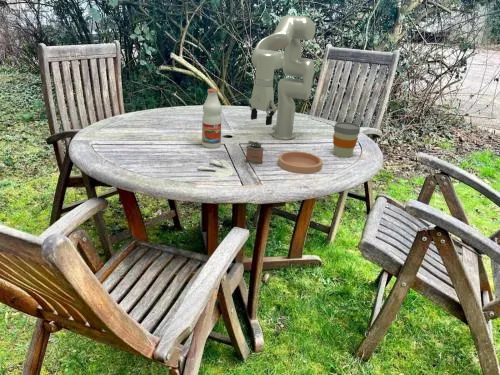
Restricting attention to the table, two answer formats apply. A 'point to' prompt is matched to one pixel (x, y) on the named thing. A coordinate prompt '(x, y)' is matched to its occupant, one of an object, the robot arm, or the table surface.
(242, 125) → the table surface
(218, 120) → the fruit juice
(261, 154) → the lighter
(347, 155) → the reusable coffee cup
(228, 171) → the cream glove
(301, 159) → the round bowl
